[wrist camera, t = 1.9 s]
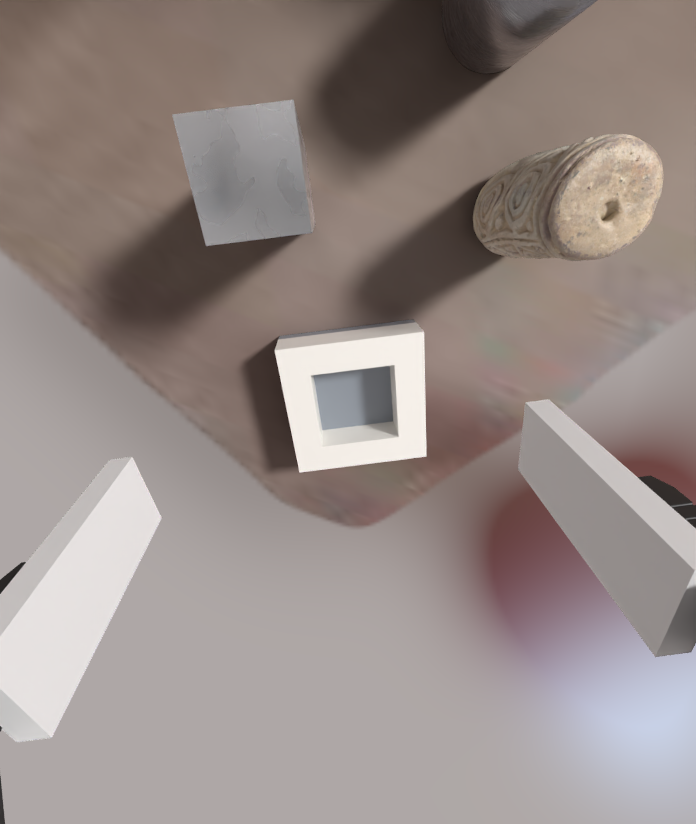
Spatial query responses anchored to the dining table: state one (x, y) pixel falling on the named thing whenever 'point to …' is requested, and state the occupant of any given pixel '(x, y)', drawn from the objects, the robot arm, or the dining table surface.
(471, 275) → the dining table surface
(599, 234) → the carving
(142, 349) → the dining table surface
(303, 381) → the bore block
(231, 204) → the square peg
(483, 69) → the round bit
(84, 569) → the robot arm
